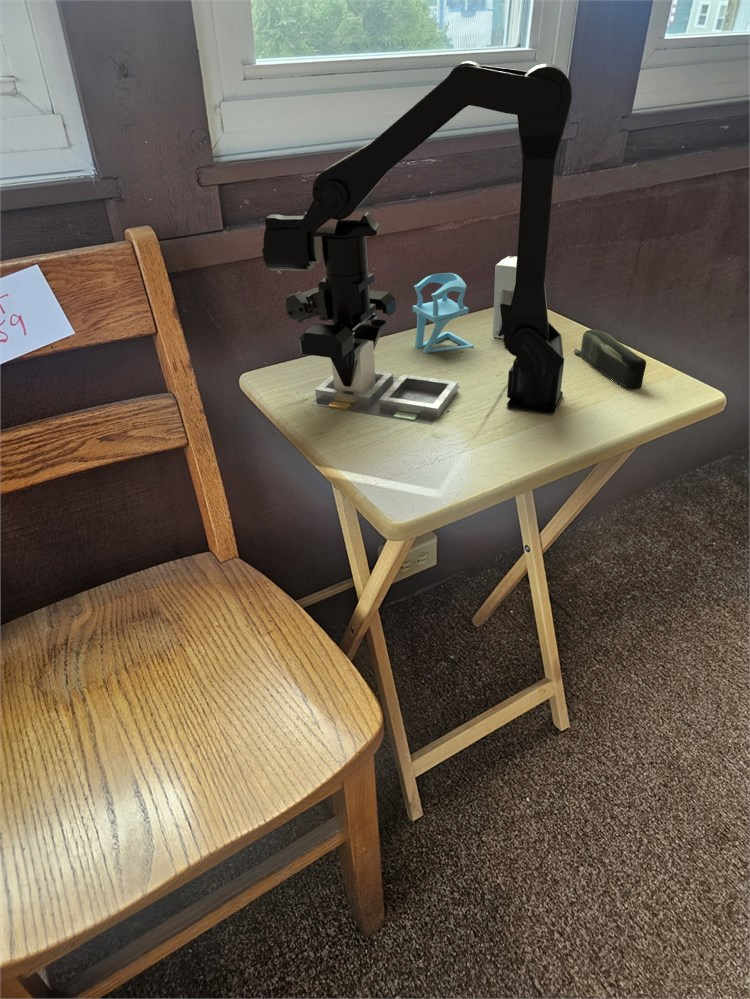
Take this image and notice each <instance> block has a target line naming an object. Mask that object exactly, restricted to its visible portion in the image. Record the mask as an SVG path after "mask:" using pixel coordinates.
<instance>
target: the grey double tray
mask: <svg viewBox="0 0 750 999" xmlns="http://www.w3.org/2000/svg"><path fill="white" fill-rule="evenodd" d="M375 381H376V384H375V385H374V386H373V387H372V388H371V389H370V390H369V391H368V392H367V393H366V394H364V393H357V392H351V391H344V390H338V389H334V381H333V373H332V374H331V375H330V376H328V377H327V378H326V379H325V380H324V381H323V382H322V383H321V384H320V385H319V386H318V387H316V388H315V389H314V390H315V399H316V400H315V401H314V402H313V403H312V404H311V406H315V407H316V406H317V407H323V408H329V409H336V410H340V411H348V412H352V413H359V414H365V415H371V416H378V417H383V418H389V419H394V420H395V419H396V420H401V421H408V422H414V423H419V424H425V425H433V423H434V422H435V420H436V419H439V418H440V416H441V414H443V412H444V411H445V409H446V408H447V406H448V405H449V404H450V403H451V401H452V400H453V399H454V398H455V396H456V395H457V393H458V392H459V389H460V388H461V387H460V385H459V381H453V380H446V379H440V378H432V377H425V376H417V375H411V374H403V373H402V374H401V375H400V377H397V376H394V372H390V371H389V372H388V371H381V370H375Z"/></svg>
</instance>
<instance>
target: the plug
mask: <svg viewBox="0 0 750 999" xmlns="http://www.w3.org/2000/svg"><path fill="white" fill-rule="evenodd" d="M354 343H361V344H362V345H361V349H360V353H359V357H358V361H357V366H356V370H355V374H354V378H353V381H352V385H351V386H350V387H347V386H344V385H343V383H342V381H341V379H340V377H339V375H338V373H337V371H336V368H335V366H334V364H333V362H332V361H331V368H332V374H333V381H334V389H338V390H344V391H351V392H357V393H364V394H366V393H367V392H368V391H369V390H370V389H371V388H372V387H373V386H374V385H375V384H376V381H375V371H376V370H375V369H376V366H375V364H376V363H375V352H374V351H375V349H374V346H373V341H369V340H367V339H359V338H354Z"/></svg>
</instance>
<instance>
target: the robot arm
mask: <svg viewBox="0 0 750 999" xmlns="http://www.w3.org/2000/svg"><path fill="white" fill-rule="evenodd" d="M572 94H573V92H572V86H571V82H570V80H569V78H568V76H567V75H566V74H565V72H564V71H563V70H562V69H561V68H560V67H559V66H557V65H555V64H552V63H541V64H537V65H535V66H534V67H532V68H530V69H529V70H521V69H520V70H519V69H514V68H506V67H505V68H504V67H497V66H489V65H483V64H479V63H477V62H475V61H471V60H469V61H462V62H461V63H460V64H458V65H456V66H454V67H453V69H452V70H451V71H450V72H449V74H448V76H447V77H445V79H443V80H442V81H440V83H439V84H438V85H437V86H435V87H434V88H433V89H432V90H431V91H430V92H429V93H427V94H426V95H425V96H424V97H423V98H421V99H420V100H419V101H418V102H417V103H416V104H415V105H413V106H412V107H411V108H410V109H409V110H408V111H406V112H405V113H404V114H403V115H402V116H401V117H399V118H398V119H397V120H396V121H395V122H394V123H392V125H390V126H389V127H388V128H387V129H385V131H383V132H382V133H381V134H380V135H379V136H378V137H376V138H375V139H374V140H373V141H371V142H370V143H368V144H366V145H364V146H362V147H360V148H358V149H357V150H355V151H354V152H352V153H349V154H348V155H346V156H345V157H343V158H341V159H339V160H337V161H336V162H334V163H333V164H331V165H330V166H329V167H327V168H326V169H324V170H323V171H322V172H320V173H319V174H318V175H317V177H316V178H315V179H314V181H313V183H312V199H313V200H312V202H311V203H310V205H309V208H308V209H307V211H305V212H304V215H282V214H269V215H268V216H267V217H266V218H264V223H265V228H264V234H263V246H262V250H261V252H262V256H263V257H262V258H263V261H264V264H265V267H266V268H267V269H268V270H269V271H313V269H314V267H315V263H320V262H321V258H323V266H324V269H323V270H324V278H323V279H321V280H319V282H318V284H317V287H314V288H311V289H308V290H305V291H303V292H302V291H300V290H299V291H297V292H295V293H291V294H289V295H287V296H286V297H285V315H287V316H288V317H289V319H290V320H292V321H295V322H296V323H297V324H300V323H303V322H304V321H306V320H309V319H312V318H316V317H318V318H319V321H324V322H328V321H331V323H332V324H324V323H315V324H314V325H313V326H312V327H309V329H307V330H305V332H303V333H302V335H300V337H299V338H298V341H299V350H300V354H302V355H307V356H313V357H314V356H315V357H321V358H327V359H328V358H329V359H330V360H331V363H332V362H333V364H334V366H335V368H336V371H337V373H338V375H339V377H340V379H341V381H342V383H343V385H344V386H347V387H350V386H351V385H352V381H353V378H354V374H355V370H356V366H357V361H358V357H359V353H360V349H361V345H362V344H361V343H354V338H359V339H367V340H369V341H373V346H374V350H375V349H376V346H377V344H378V342H379V339H380V337H381V335H382V332H383V330H384V327H385V326H386V325H387V321H386V320H384V319H378V315H377V314H376V311H382V314H383V315H384V317H386V318H387V317H388V318H389V317H391V316H392V315H393V314H394V313H395V312H397V307H396V306H397V305H396V297H394V295H393V294H392V293H391V292H390V291H381V290H372V289H371V290H370V285H371V284H373V283H374V282H375V273H369V265H368V264H369V263H368V248H367V247H368V245H367V237H376V236H377V235H378V234H379V232H380V231H381V229H382V224H381V223H379V222H378V221H377V220H376V219H375V218H373V217H372V215H371V213H370V212H369V211H365V213H364V214H363V215H362V217H361V218H360V219H359V218H358V219H357V218H356V219H355V218H353V219H352V218H350V219H348V217H350V216H351V215H352V214H353V213H354V212H355V210H357V208H358V207H359V206H360V205H361V204H362V203H363V202H364V200H366V198H367V197H368V196H369V195H370V194H371V192H372V191H373V190H374V189H375V188H376V186H377V185H378V184H379V183H380V182H381V181H382V179H383V178H384V177H385V176H386V174H387V173H388V172H389V171H390V170H391V169H392V168H393V167H395V166H396V165H397V164H399V162H401V161H402V160H404V159H405V158H406V157H407V156H408V155H409V154H411V152H413V151H415V149H417V148H418V147H419V146H420V145H422V144H423V143H424V142H425V141H427V139H429V138H430V137H431V136H432V135H434V134H435V133H437V131H438V130H439V129H441V128H442V127H443V126H445V125H446V124H447V123H448V122H449V121H451V120H452V119H453V118H454V117H455V116H457V115H458V114H459V113H460V112H461V111H463V110H464V109H465V108H467V107H468V106H471V107H478V108H482V109H486V110H489V111H493V112H499V113H504V114H507V115H514V116H515V115H516V117H517V125H518V136H519V145H520V153H521V160H522V161H521V162H522V163H521V164H522V170H521V172H522V173H521V183H520V184H521V188H520V201H519V202H520V203H519V219H518V234H517V237H518V238H517V250H516V251H517V252H516V254H517V255H516V257H517V265H516V277H515V281H514V285H513V288H512V291H507V290H502V291H501V301H500V311H501V316H500V321H499V332H498V336H502V335H504V337H503V339H502V340H503V345H504V348H505V350H507V352H509V353H510V354H511V355H512V356H513V357H515V358H514V360H513V362H512V363H513V364H512V366H511V367H510V369H509V370H508V374H507V375H508V376H507V377H508V378H507V391H506V392H507V393H506V397H507V398H508V399H509V400H508V402H507V403H506V408H508V409H511V410H512V409H514V410H521V411H527V412H533V413H541V414H547V415H553V414H555V412H556V410H557V408H558V407H559V404H560V402H561V400H562V398H563V395H564V392H563V391H562V385H563V384H562V383H563V382H562V381H563V374H564V364H565V358H564V350H563V340H562V334H561V333H560V332H559V330H557V328H555V326H553V325H552V324H551V322H549V315H548V314H549V313H548V305H547V294H546V285H545V282H546V281H545V278H546V269H547V257H548V248H549V247H548V246H549V245H548V244H549V234H550V233H549V232H550V221H551V210H552V199H553V188H554V178H555V177H554V174H555V166H556V165H555V164H556V160H557V156H558V154H559V153H558V152H559V149H560V146H561V142H562V139H563V136H564V132H565V128H566V123H567V121H568V120H567V119H568V117H569V112H570V107H571V104H572V98H573V96H572ZM346 218H347V219H346ZM330 220H335V221H337V222H336V224H335V225H331V226H324V224H326V223H327V222H329V221H330ZM322 256H323V257H322Z"/></svg>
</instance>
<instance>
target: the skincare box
mask: <svg viewBox="0 0 750 999" xmlns="http://www.w3.org/2000/svg"><path fill="white" fill-rule="evenodd" d="M516 265H517V256H514V255H513V256H512V255H508V256H507V257H505V258H503V259H501V260H500V261H499V262H498V263H497V264H495V267H494V293H493V294H494V295H493V296H494V297H493V317H492V318H493V319H492V320H493V321H492V322H493V324H492V325H493V326H492V336H493V338H497V339H501V340H503V337H504V335H502V336H498V332H499V321H500V316H501V311H500V301H501V291H502V290H507V291H512V288H513V285H514V281H515V277H516Z"/></svg>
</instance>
